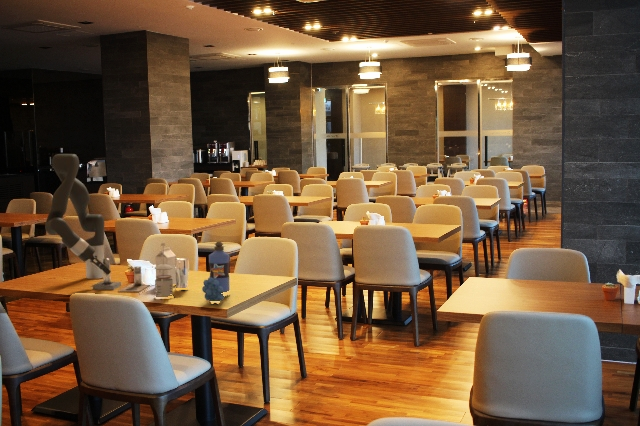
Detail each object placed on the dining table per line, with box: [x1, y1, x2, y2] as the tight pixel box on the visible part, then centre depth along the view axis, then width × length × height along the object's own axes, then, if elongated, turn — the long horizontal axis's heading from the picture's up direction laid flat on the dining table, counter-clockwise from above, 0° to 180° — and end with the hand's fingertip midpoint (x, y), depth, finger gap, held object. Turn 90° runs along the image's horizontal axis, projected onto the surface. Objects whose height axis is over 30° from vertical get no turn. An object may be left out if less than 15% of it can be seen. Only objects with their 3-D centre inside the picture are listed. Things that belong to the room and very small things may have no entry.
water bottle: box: [208, 241, 230, 292], centre depth 326 cm, size 9×9×25 cm
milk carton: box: [155, 246, 177, 286], centre depth 348 cm, size 7×7×19 cm
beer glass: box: [174, 257, 190, 289], centre depth 340 cm, size 7×7×15 cm
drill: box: [102, 257, 112, 285], centre depth 340 cm, size 3×3×14 cm
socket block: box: [92, 280, 122, 291], centre depth 341 cm, size 10×10×3 cm
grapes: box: [201, 276, 225, 302], centre depth 307 cm, size 12×7×12 cm, turn 58°
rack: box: [117, 283, 151, 294], centre depth 339 cm, size 18×10×2 cm, turn 175°
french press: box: [154, 242, 174, 297], centre depth 324 cm, size 10×12×25 cm
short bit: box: [133, 266, 143, 286], centre depth 343 cm, size 3×3×9 cm
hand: (108, 271), depth 341 cm, fingers open, 8 cm apart
